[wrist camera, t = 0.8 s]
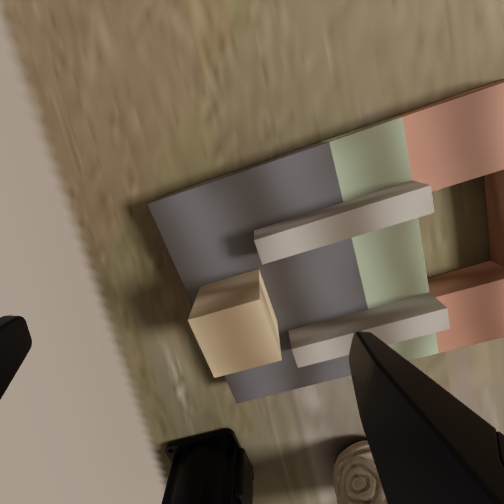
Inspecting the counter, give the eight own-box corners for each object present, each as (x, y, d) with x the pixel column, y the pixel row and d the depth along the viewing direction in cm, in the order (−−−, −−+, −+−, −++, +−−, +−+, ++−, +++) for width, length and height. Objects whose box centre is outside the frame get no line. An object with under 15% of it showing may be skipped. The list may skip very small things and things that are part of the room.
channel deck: (238, 379, 26) (235, 426, 22) (159, 196, 21) (134, 211, 16) (515, 307, 23) (573, 345, 19) (503, 78, 18) (579, 60, 14)
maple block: (221, 336, 21) (214, 378, 18) (200, 286, 20) (187, 320, 16) (277, 320, 21) (281, 360, 17) (259, 268, 20) (259, 299, 16)
